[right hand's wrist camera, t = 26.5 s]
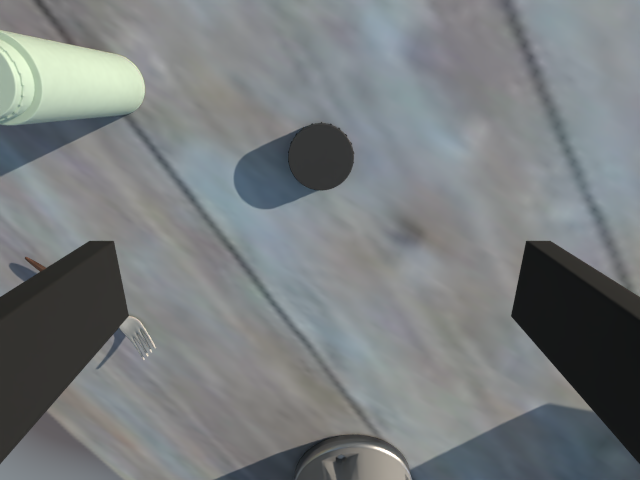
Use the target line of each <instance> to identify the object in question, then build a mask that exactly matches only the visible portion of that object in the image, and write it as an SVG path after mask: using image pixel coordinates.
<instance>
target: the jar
mask: <svg viewBox="0 0 640 480" xmlns="http://www.w3.org/2000/svg"><path fill="white" fill-rule="evenodd" d="M144 94H145V85H144V81H143V78H142V75H141V73H140V71H139V70H138V68H137V67H136V66H135V65H134V64H133V63H132V62H131V61H130V60H128V59H127V58H125V57H123V56H121V55H117V54H113V53H108V52H103V51H99V50H94V49H89V48H84V47H79V46H74V45H70V44H65V43H60V42H55V41H50V40H45V39H41V38H36V37H31V36H26V35H21V34H17V33H12V32H7V31H2V30H0V124H1V125H8V126H9V125H23V124H33V123H44V122H55V121H65V120H76V119H86V118H97V117H107V116H118V115H126V114H130V113H132V112H134V111H135V110H137V109H138V108H139V106H140V105H141V103H142V101H143V99H144Z"/></svg>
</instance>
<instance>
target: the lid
mask: <svg viewBox="0 0 640 480" xmlns="http://www.w3.org/2000/svg"><path fill="white" fill-rule="evenodd" d="M288 153H289V155H288V160H289V161H288V163H289V166H290V169H291V171H292V173H293V175H294V176H295V178H296V179H297V180H298V181H299V182H300V183H301V184H303V185H304V186H306V187H308V188H310V189H314V190H328V189H332V188H334V187H336V186H338V185H339V184H341V183H342V182H343V181H344V180H345V179H346V178H347V177H348V175H349V174H350V172H351V169H352V166H353V163H354V162H353V161H354V152H353V148H352V143H351V142H350V141H349V139H348V138H347V135H346V134H344V133H343V132H342V131H341V130H340V128H337V127H335V126H333V125H332V124H326V123H322V122H321V123H316V124H313V123H312V124H311V125H309V126H307V127H305V128H304V127H303V129H302V130H301V131H300V132H299V133H298V134H296V137H295V138H294V140H293V141H292V142H291V146H290V149H289V151H288Z"/></svg>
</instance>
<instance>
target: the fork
mask: <svg viewBox="0 0 640 480" xmlns="http://www.w3.org/2000/svg"><path fill="white" fill-rule="evenodd" d="M25 259H26V260H27V261H28V262H29V263H30V264H31V265H33V266H34V267H35V268H36V269H38V270H39V271H40V272H41V271H43V270H44V269H46V268H45V267H44V266H42V265H40V264H39V263H37V262H35V261H33V260H32V259H30V258H28V257H25ZM119 328H120V330H121V331H122V332H123V333H124V334H125V335H126V336H127V337H128V338H129V340H130V341H131V342H132V343H133V344H134V346H135V347H136V349H137V350H138V352H139V353H140V355H141V357H142V358H143V360H145V359H144V357H143V355H142V353H141V351H140V349H139V347H138V346H137V344H136V342H135V341H134V338H135V339H136V340H137V341H138V343H139V344H140V346H141V347H142V349H143V350H144V352H145V353H146V355H147V356H148V354H147V352H146V350H145V348H144V346H143V344H142V342H141V341H140V339H139V337H138V335H137V333H138V334H139V335H140V336H141V338H142V339H143V341H144V342H145V344H146V345H147V347H148V348H149V350H150V352H152V350H151V348H150V346H149V345H148V343H147V341H146V339H145V337H144V336H143V334H142V332H141V330H143V332H144V333H145V334H146V336H147V337H148V339H149V340H150V342H151V343H152V345H153V347H154V348H156V347H155V345H154V343H153V341H152V339H151V338H150V336H149V334H148V332H147V331H146V329H145V328H144V326H143V325H142V323H141V322H140V321H139V320H138V319H136V318H134V317H131V316H129V317H128V318H127V319H126V320H125V321H124V322H123V323H122V325H121V326H120V327H119Z"/></svg>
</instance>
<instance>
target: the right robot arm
mask: <svg viewBox="0 0 640 480" xmlns="http://www.w3.org/2000/svg"><path fill="white" fill-rule="evenodd" d="M128 317H129V315H128V310H127V305H126V300H125V295H124V290H123V285H122V280H121V275H120V270H119V265H118V260H117V255H116V250H115V245H114V241H89V242H87V243H86V244H84V245H82V246H81V247H79V248H78V249H76V250H74V251H73V252H71V253H70V254H68V255H67V256H65V257H63V258H62V259H60V260H59V261H57V262H55V263H54V264H52V265H51V266H49V267H47V268H46V269H44V270H43V271H41V272H39V273H38V274H36V275H35V276H33V277H31V278H30V279H28V280H27V281H25V282H24V283H22V284H20V285H19V286H17V287H16V288H14V289H12V290H11V291H9V292H8V293H6V294H4V295H3V296H1V297H0V464H1V462H2V461H3V460H4V459H5V458H6V457H7V455H8V454H9V453H10V452H11V451H12V450H13V449H14V448H15V446H16V445H17V444H18V443H19V442H20V441H21V439H22V438H23V437H24V436H25V435H26V434H27V432H28V431H29V430H30V429H31V428H32V427H33V426H34V425H35V423H36V422H37V421H38V420H39V419H40V418H41V417H42V415H43V414H44V413H45V412H46V411H47V410H48V408H49V407H50V406H51V405H52V404H53V403H54V402H55V400H56V399H57V398H58V397H59V396H60V395H61V394H62V392H63V391H64V390H65V389H66V388H67V387H68V385H69V384H70V383H71V382H72V381H73V380H74V379H75V377H76V376H77V375H78V374H79V373H80V372H81V371H82V369H83V368H84V367H85V366H86V365H87V364H88V362H89V361H90V360H91V359H92V358H93V357H94V356H95V354H96V353H97V352H98V351H99V350H100V349H101V348H102V346H103V345H104V344H105V343H106V342H107V341H108V339H109V338H110V337H111V336H112V335H113V334H114V333H115V331H116V330H117V329H118V328H119V327H120V326H121V325H122V323H123V322H124V321H125V320H126V319H127V318H128ZM511 317H512V318H513V319H514V320H515V321H516V322H517V323H518V325H519V326H520V327H521V328H522V329H523V330H524V331H525V333H526V334H527V335H528V336H529V337H530V338H531V339H532V341H533V342H534V343H535V344H536V345H537V346H538V348H539V349H540V350H541V351H542V352H543V353H544V354H545V356H546V357H547V358H548V359H549V360H550V361H551V362H552V364H553V365H554V366H555V367H556V368H557V369H558V371H559V372H560V373H561V374H562V375H563V376H564V377H565V379H566V380H567V381H568V382H569V383H570V384H571V385H572V387H573V388H574V389H575V390H576V391H577V392H578V394H579V395H580V396H581V397H582V398H583V399H584V400H585V402H586V403H587V404H588V405H589V406H590V407H591V408H592V410H593V411H594V412H595V413H596V414H597V415H598V417H599V418H600V419H601V420H602V421H603V422H604V423H605V425H606V426H607V427H608V428H609V429H610V430H611V431H612V433H613V434H614V435H615V436H616V437H617V438H618V439H619V441H620V442H621V443H622V444H623V445H624V446H625V448H626V449H627V450H628V451H629V452H630V453H631V454H632V456H633V457H634V458H635V459H636V460H637V461H638V462H639V464H640V297H639V296H637V295H636V294H634V293H632V292H631V291H629V290H628V289H626V288H624V287H623V286H621V285H620V284H618V283H616V282H615V281H613V280H612V279H610V278H609V277H607V276H605V275H604V274H602V273H601V272H599V271H597V270H596V269H594V268H593V267H591V266H589V265H588V264H586V263H585V262H583V261H581V260H580V259H578V258H577V257H575V256H573V255H572V254H570V253H569V252H567V251H565V250H564V249H562V248H561V247H559V246H558V245H556V244H554V243H553V242H551V241H526V245H525V250H524V255H523V260H522V265H521V270H520V275H519V280H518V285H517V290H516V295H515V300H514V305H513V310H512V315H511ZM295 480H412V478H411V474H410V470H409V466H408V463H407V461H406V459H405V458H404V456H403V455H402V454H401V453H400V451H398V450H397V449H396V448H395V447H394V446H392V445H391V444H389V443H387V442H385V441H383V440H380V439H378V438H374V437H370V436H365V435H343V436H337V437H333V438H330V439H327V440H325V441H322V442H320V443H318V444H317V445H315V446H313V447H312V448H311V449H309V450H308V451H307V452H306V453H305V454H304V455H303V457H302V458H301V459H300V461H299V463H298V465H297V467H296V471H295Z"/></svg>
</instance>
